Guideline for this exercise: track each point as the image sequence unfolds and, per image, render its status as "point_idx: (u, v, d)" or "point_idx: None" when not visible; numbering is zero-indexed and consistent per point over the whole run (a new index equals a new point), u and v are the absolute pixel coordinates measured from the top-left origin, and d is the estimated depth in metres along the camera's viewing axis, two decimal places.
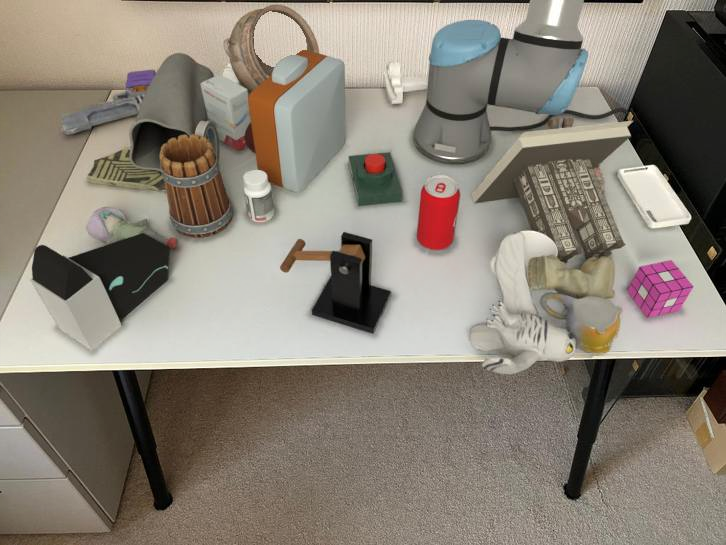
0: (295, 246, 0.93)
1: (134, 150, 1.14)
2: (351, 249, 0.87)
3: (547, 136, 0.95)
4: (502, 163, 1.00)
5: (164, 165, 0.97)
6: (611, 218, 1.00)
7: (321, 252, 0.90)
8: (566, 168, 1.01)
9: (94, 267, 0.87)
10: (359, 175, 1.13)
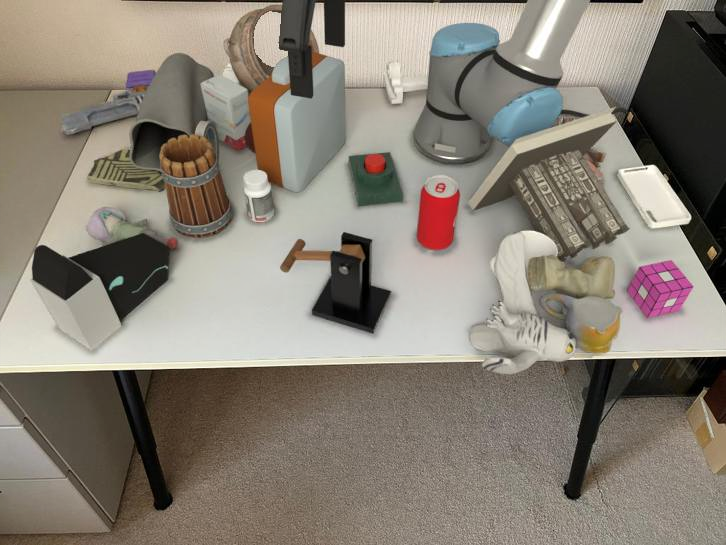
0: (295, 246, 0.93)
1: (134, 150, 1.14)
2: (351, 249, 0.87)
3: (538, 138, 0.96)
4: (497, 170, 1.00)
5: (164, 165, 0.97)
6: (611, 204, 1.02)
7: (321, 252, 0.90)
8: (559, 163, 1.02)
9: (94, 267, 0.87)
10: (359, 175, 1.13)
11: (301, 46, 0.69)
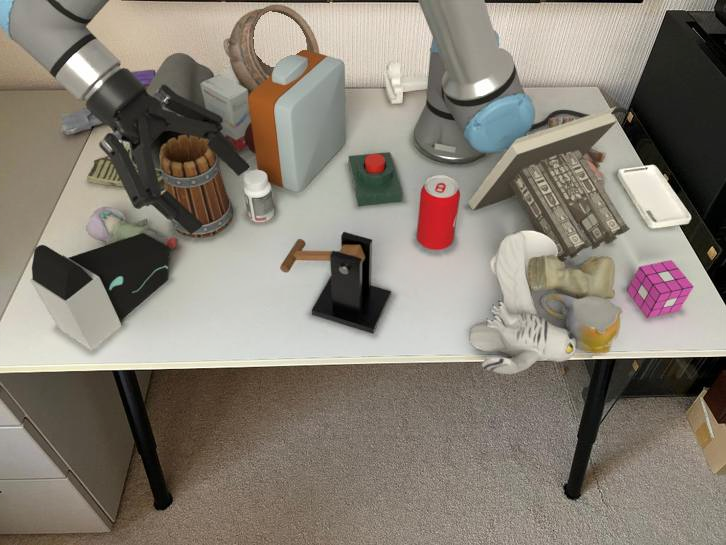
0: (295, 246, 0.93)
1: None
2: (351, 249, 0.87)
3: (538, 138, 0.96)
4: (497, 170, 1.00)
5: (164, 165, 0.97)
6: (611, 204, 1.02)
7: (321, 252, 0.90)
8: (559, 163, 1.02)
9: (94, 267, 0.87)
10: (359, 175, 1.13)
11: (144, 197, 0.80)
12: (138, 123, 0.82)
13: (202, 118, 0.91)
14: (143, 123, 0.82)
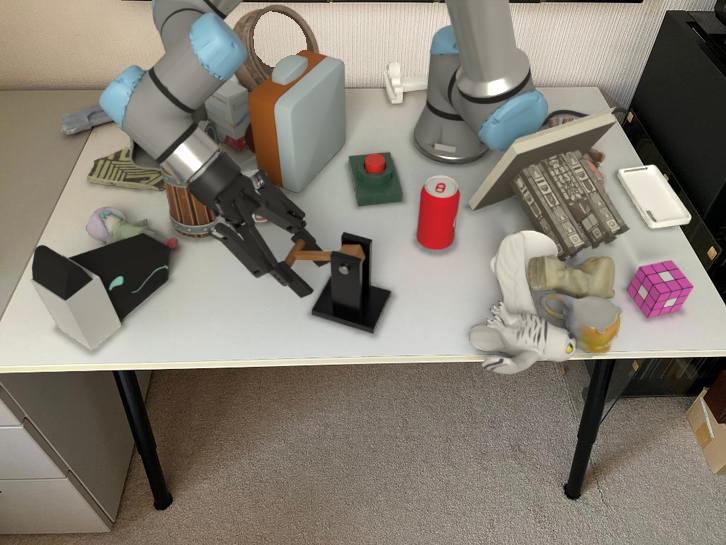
0: (295, 246, 0.93)
1: (134, 150, 1.14)
2: (351, 249, 0.87)
3: (538, 138, 0.96)
4: (497, 170, 1.00)
5: None
6: (611, 204, 1.02)
7: (321, 252, 0.90)
8: (559, 163, 1.02)
9: (94, 267, 0.87)
10: (359, 175, 1.13)
11: (265, 268, 0.87)
12: (238, 206, 0.86)
13: (287, 209, 0.94)
14: (241, 204, 0.87)
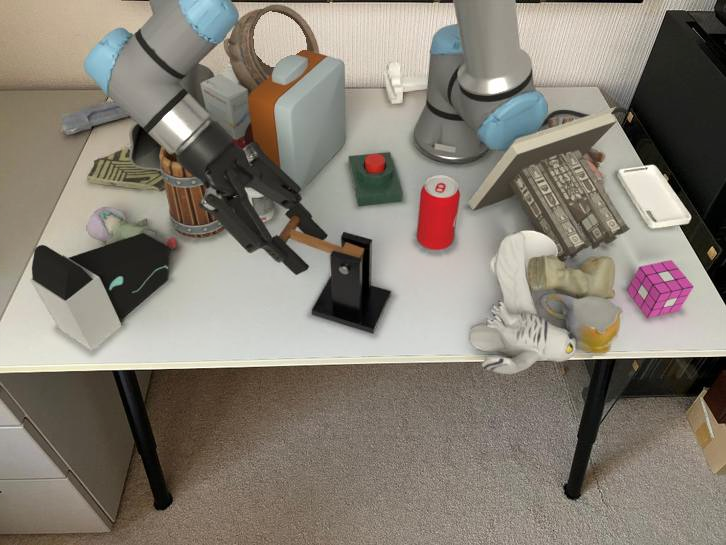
0: (291, 223, 0.90)
1: (134, 150, 1.14)
2: (355, 251, 0.87)
3: (538, 138, 0.96)
4: (497, 170, 1.00)
5: (164, 165, 0.97)
6: (611, 204, 1.02)
7: (320, 241, 0.89)
8: (559, 163, 1.02)
9: (94, 267, 0.87)
10: (359, 175, 1.13)
11: (258, 243, 0.83)
12: (229, 177, 0.83)
13: (281, 183, 0.91)
14: (233, 175, 0.83)
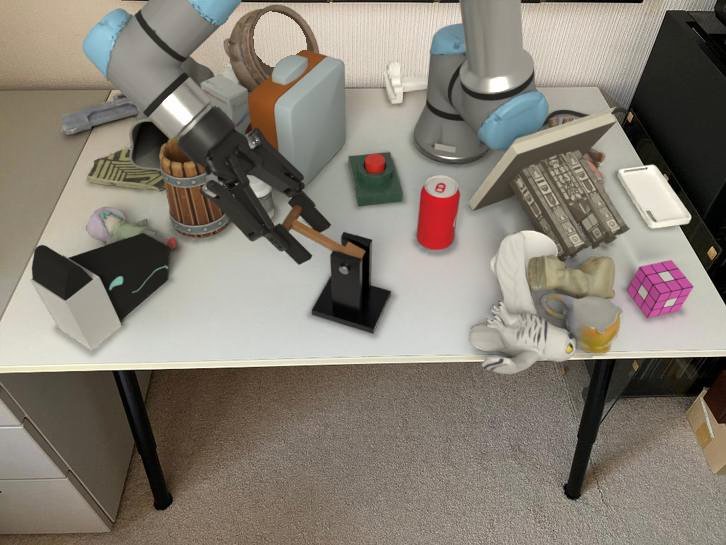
0: (295, 213, 0.88)
1: (134, 150, 1.14)
2: (356, 252, 0.87)
3: (538, 138, 0.96)
4: (497, 170, 1.00)
5: (164, 165, 0.97)
6: (611, 204, 1.02)
7: (322, 236, 0.88)
8: (559, 163, 1.02)
9: (94, 267, 0.87)
10: (359, 175, 1.13)
11: (261, 231, 0.81)
12: (231, 163, 0.81)
13: (284, 171, 0.89)
14: (235, 161, 0.81)
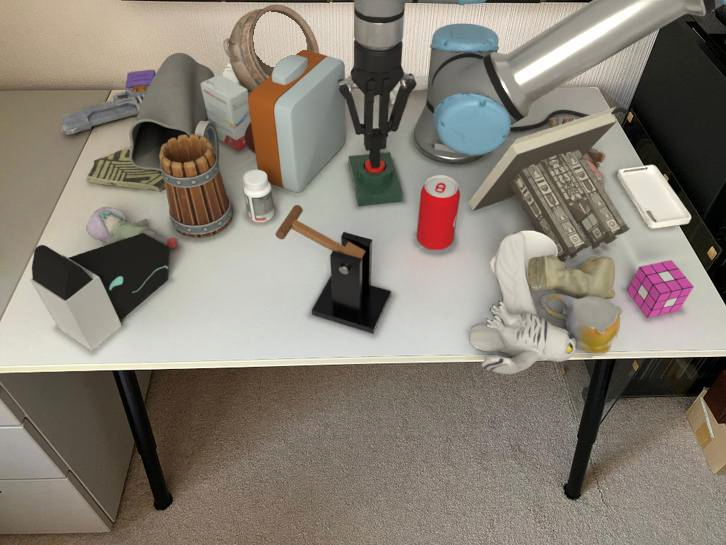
0: (295, 213, 0.88)
1: (134, 150, 1.14)
2: (356, 252, 0.87)
3: (538, 138, 0.96)
4: (497, 170, 1.00)
5: (164, 165, 0.97)
6: (611, 204, 1.02)
7: (322, 236, 0.88)
8: (559, 163, 1.02)
9: (94, 267, 0.87)
10: (359, 175, 1.13)
11: (358, 132, 1.06)
12: (367, 86, 0.99)
13: (393, 114, 1.05)
14: (371, 87, 0.99)
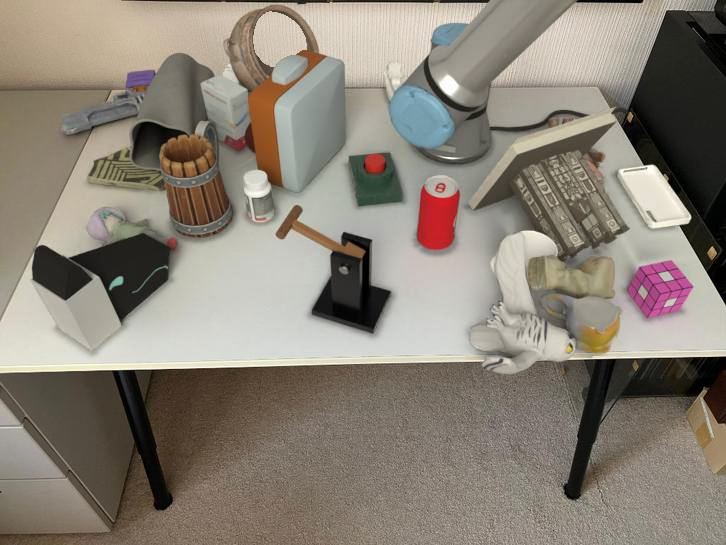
0: (295, 213, 0.88)
1: (134, 150, 1.14)
2: (356, 252, 0.87)
3: (538, 138, 0.96)
4: (497, 170, 1.00)
5: (164, 165, 0.97)
6: (611, 204, 1.02)
7: (322, 236, 0.88)
8: (559, 163, 1.02)
9: (94, 267, 0.87)
10: (359, 175, 1.13)
11: None
12: None
13: None
14: None
